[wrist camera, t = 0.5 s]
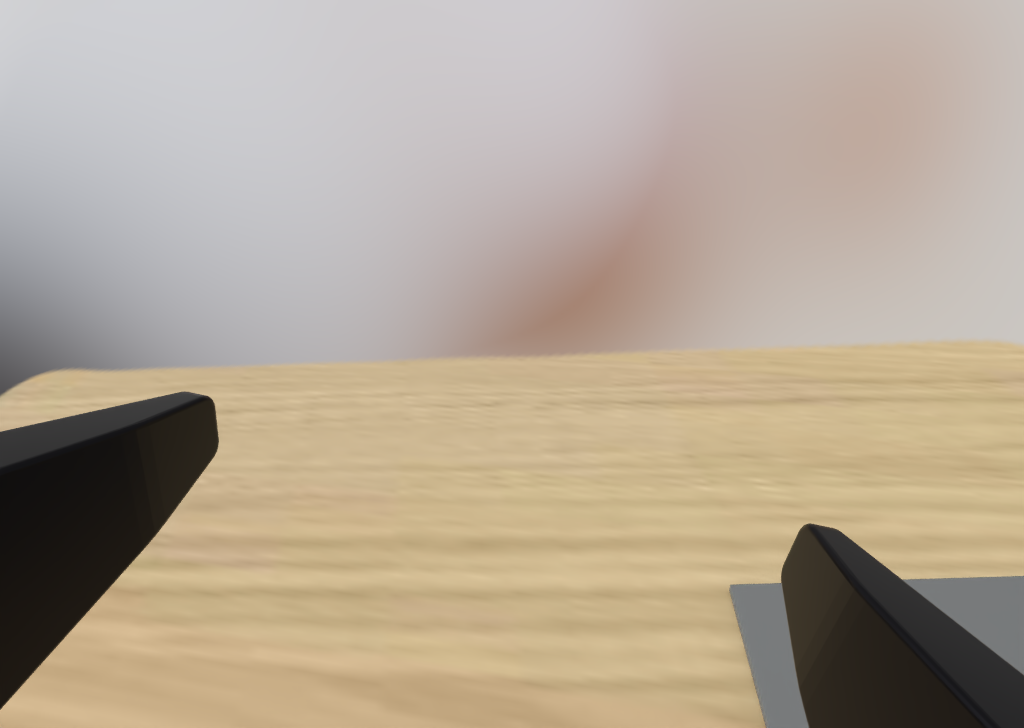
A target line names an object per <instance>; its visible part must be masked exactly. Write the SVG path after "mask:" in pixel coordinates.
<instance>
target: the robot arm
mask: <svg viewBox="0 0 1024 728" xmlns="http://www.w3.org/2000/svg"><path fill="white" fill-rule="evenodd" d="M218 443H219V438H218V429H217V420H216V411H215V404H214V402H213V400H212V399H211V398H210V397H208V396H205V395H200V394H195V393H191V392H179V393H174V394H170V395H165V396H161V397H156V398H152V399H147V400H143V401H138V402H134V403H129V404H125V405H120V406H115V407H111V408H106V409H102V410H97V411H93V412H88V413H84V414H79V415H75V416H70V417H66V418H61V419H56V420H52V421H47V422H43V423H38V424H34V425H29V426H25V427H20V428H16V429H11V430H7V431H2V432H0V709H1V708H2V707H3V706H4V705H5V704H6V703H7V702H8V700H9V699H10V698H11V697H12V696H13V695H14V694H15V693H16V692H17V690H18V689H19V688H20V687H21V686H22V685H23V684H24V683H25V681H26V680H27V679H28V678H29V677H30V676H31V675H32V674H33V673H34V671H35V670H36V669H37V668H38V667H39V666H40V665H41V664H42V662H43V661H44V660H45V659H46V658H47V657H48V656H49V655H50V654H51V652H52V651H53V650H54V649H55V648H56V647H57V646H58V645H59V643H60V642H61V641H62V640H63V639H64V638H65V637H66V636H67V635H68V633H69V632H70V631H71V630H72V629H73V628H74V627H75V626H76V624H77V623H78V622H79V621H80V620H81V619H82V618H83V617H84V616H85V614H86V613H87V612H88V611H89V610H90V609H91V608H92V607H93V605H94V604H95V603H96V602H97V601H98V600H99V599H100V598H101V597H102V595H103V594H104V593H105V592H106V591H107V590H108V589H109V588H110V586H111V585H112V584H113V583H114V582H115V581H116V580H117V579H118V578H119V576H120V575H121V574H122V573H123V572H124V571H125V570H126V569H127V567H128V566H129V565H130V564H131V563H132V562H133V561H134V560H135V559H136V557H137V556H138V555H139V554H140V553H141V552H142V551H143V550H144V548H145V547H146V546H147V545H148V544H149V543H150V541H151V540H152V539H153V538H154V537H155V536H156V534H157V533H158V532H159V530H160V529H161V528H162V526H163V525H164V524H165V523H166V521H167V520H168V519H169V517H170V516H171V515H172V513H173V512H174V511H175V509H176V508H177V506H178V505H179V504H180V502H181V501H182V500H183V498H184V497H185V496H186V494H187V493H188V492H189V490H190V489H191V487H192V486H193V485H194V483H195V482H196V481H197V479H198V478H199V477H200V475H201V474H202V472H203V471H204V470H205V468H206V467H207V466H208V464H209V463H210V462H211V460H212V459H213V457H214V456H215V454H216V452H217V449H218ZM781 583H782V590H783V596H784V602H785V608H786V615H787V621H788V627H789V633H790V640H791V646H792V652H793V658H794V665H795V671H796V676H797V681H798V687H799V691H800V695H801V699H802V703H803V707H804V711H805V715H806V718H807V722H808V726H809V728H1024V675H1023V674H1022V673H1021V672H1020V671H1018V670H1017V669H1016V668H1014V667H1013V666H1012V665H1011V664H1009V663H1008V662H1007V661H1005V660H1004V659H1003V658H1002V657H1000V656H999V655H998V654H996V653H995V652H994V651H993V650H991V649H990V648H989V647H988V646H986V645H985V644H984V643H982V642H981V641H980V640H979V639H977V638H976V637H975V636H973V635H972V634H971V633H970V632H968V631H967V630H966V629H964V628H963V627H962V626H961V625H959V624H958V623H957V622H956V621H954V620H953V619H952V618H950V617H949V616H948V615H947V614H945V613H944V612H943V611H941V610H940V609H939V608H938V607H936V606H935V605H934V604H932V603H931V602H930V601H929V600H927V599H926V598H925V597H924V596H922V595H921V594H920V593H918V592H917V591H916V590H915V589H913V588H912V587H911V586H909V585H908V584H907V583H906V582H904V581H903V580H902V579H901V578H899V577H898V576H897V575H895V574H894V573H893V572H892V571H890V570H889V569H888V568H886V567H885V566H884V565H883V564H881V563H880V562H879V561H877V560H876V559H875V558H874V557H872V556H871V555H870V554H869V553H867V552H866V551H865V550H863V549H862V548H861V547H860V546H858V545H857V544H856V543H854V542H853V541H852V540H851V539H849V538H848V537H847V536H845V535H844V534H843V533H842V532H840V531H839V530H837V529H834V528H830V527H825V526H820V525H815V524H806V525H804V526H803V527H802V528H801V529H800V531H799V532H798V535H797V537H796V539H795V541H794V543H793V545H792V547H791V550H790V552H789V554H788V556H787V558H786V560H785V563H784V565H783V568H782V574H781Z"/></svg>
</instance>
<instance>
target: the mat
mask: <svg viewBox="0 0 1024 728" xmlns="http://www.w3.org/2000/svg"><path fill="white" fill-rule="evenodd" d="M903 581H904V582H906V583H907V584H908V585H909V586H911V587H912V588H913V589H915V590H916V591H917V592H918V593H920V594H921V595H922V596H924V597H925V598H926V599H927V600H929V601H930V602H931V603H932V604H934V605H935V606H936V607H938V608H939V609H940V610H941V611H943V612H944V613H945V614H947V615H948V616H949V617H950V618H952V619H953V620H954V621H956V622H957V623H958V624H959V625H961V626H962V627H963V628H964V629H966V630H967V631H968V632H970V633H971V634H972V635H973V636H975V637H976V638H977V639H979V640H980V641H981V642H982V643H984V644H985V645H986V646H988V647H989V648H990V649H991V650H993V651H994V652H995V653H996V654H998V655H999V656H1000V657H1002V658H1003V659H1004V660H1005V661H1007V662H1008V663H1009V664H1011V665H1012V666H1013V667H1014V668H1016V669H1017V670H1018V671H1020V672H1021V673H1022V674H1023V675H1024V576H1012V577H978V578H944V579H909V580H903ZM729 591H730V594H731V598H732V602H733V606H734V609H735V613H736V617H737V621H738V624H739V628H740V632H741V635H742V639H743V643H744V647H745V650H746V654H747V658H748V662H749V665H750V669H751V673H752V677H753V680H754V684H755V688H756V691H757V695H758V699H759V703H760V706H761V710H762V714H763V718H764V721H765V725H766V728H809V726H808V722H807V718H806V715H805V711H804V707H803V703H802V699H801V695H800V691H799V687H798V681H797V676H796V671H795V665H794V658H793V652H792V646H791V640H790V633H789V627H788V621H787V615H786V608H785V602H784V596H783V590H782V583H773V584H739V585H730V589H729Z"/></svg>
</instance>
